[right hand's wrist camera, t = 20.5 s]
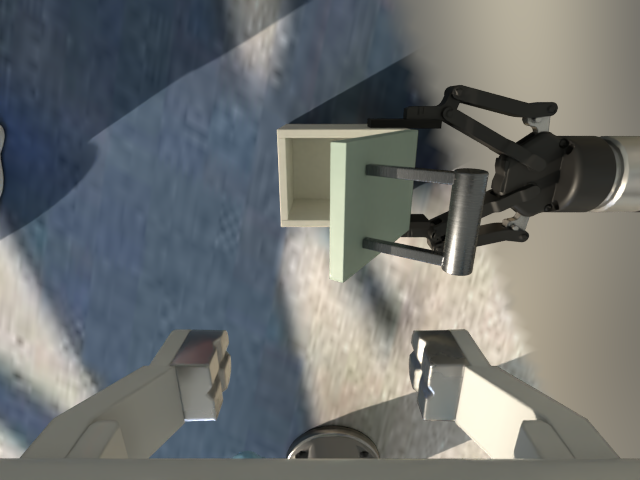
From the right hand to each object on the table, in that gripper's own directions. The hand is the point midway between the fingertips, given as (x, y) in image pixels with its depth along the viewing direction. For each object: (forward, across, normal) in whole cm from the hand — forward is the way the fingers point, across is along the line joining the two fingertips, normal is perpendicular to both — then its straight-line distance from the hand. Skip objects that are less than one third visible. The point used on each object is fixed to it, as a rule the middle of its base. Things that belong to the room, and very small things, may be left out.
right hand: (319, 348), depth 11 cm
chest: (+33, +2, 0) cm, 33 cm away
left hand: (+27, +5, 0) cm, 28 cm away
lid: (+19, +4, 0) cm, 19 cm away
